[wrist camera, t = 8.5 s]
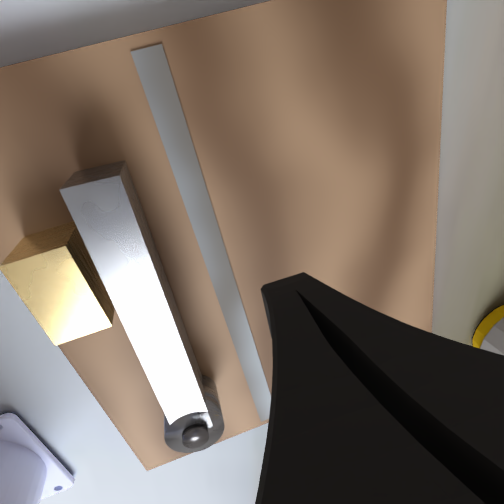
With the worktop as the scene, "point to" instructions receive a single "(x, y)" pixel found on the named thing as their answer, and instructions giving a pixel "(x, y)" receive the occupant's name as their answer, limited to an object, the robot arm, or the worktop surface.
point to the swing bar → (144, 301)
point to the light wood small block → (59, 283)
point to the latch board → (241, 176)
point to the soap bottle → (491, 332)
